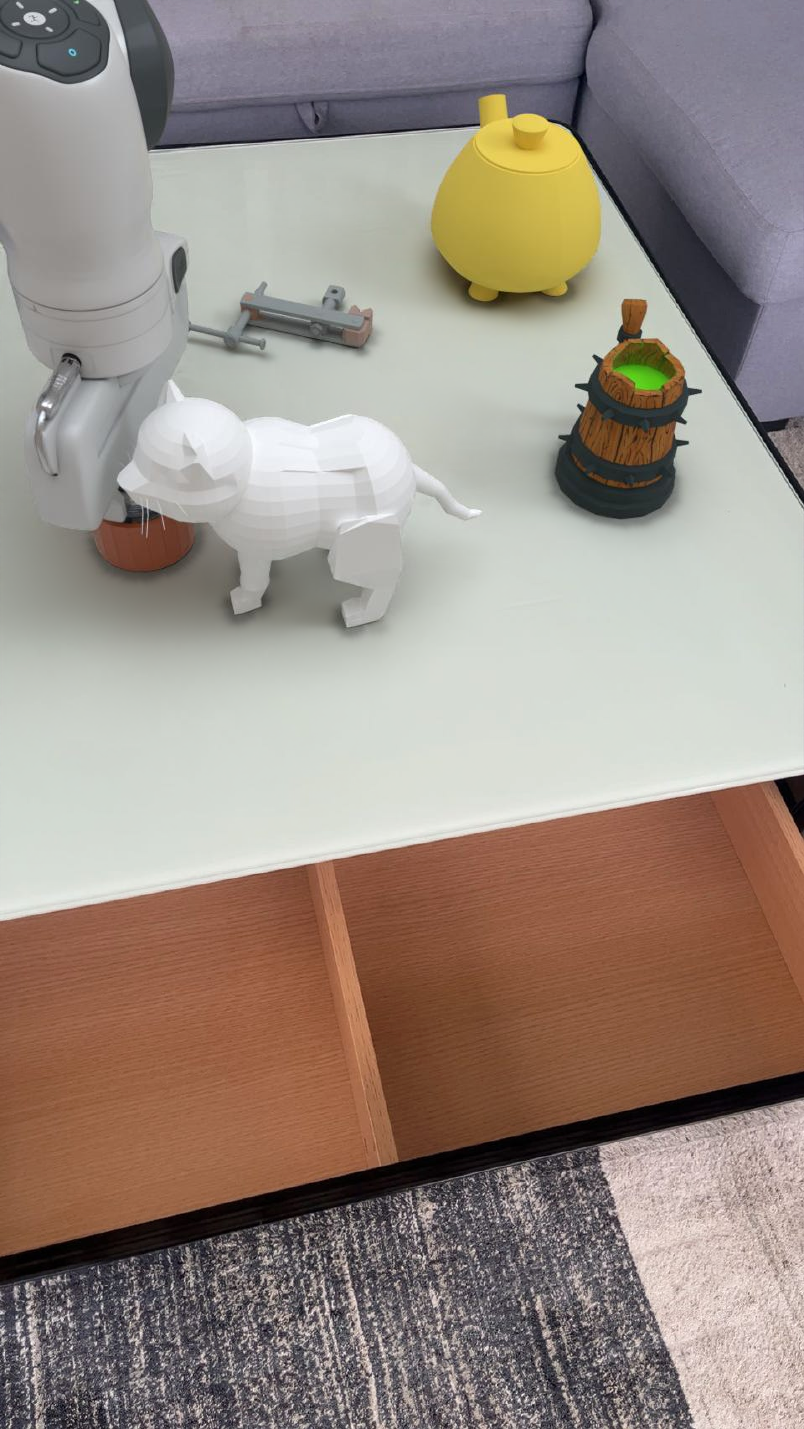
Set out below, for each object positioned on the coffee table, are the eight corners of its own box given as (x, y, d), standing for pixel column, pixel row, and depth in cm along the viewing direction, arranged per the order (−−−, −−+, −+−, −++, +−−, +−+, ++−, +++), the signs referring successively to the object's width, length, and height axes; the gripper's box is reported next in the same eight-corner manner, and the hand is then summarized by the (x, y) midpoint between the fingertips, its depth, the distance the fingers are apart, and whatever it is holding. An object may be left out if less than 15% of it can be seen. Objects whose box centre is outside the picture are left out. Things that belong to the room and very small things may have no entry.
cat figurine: (453, 503, 83) (475, 316, 69) (496, 603, 77) (529, 421, 64) (130, 557, 78) (84, 368, 64) (150, 667, 73) (105, 487, 59)
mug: (685, 524, 83) (730, 404, 73) (555, 518, 82) (583, 397, 73) (663, 413, 90) (702, 292, 81) (544, 408, 90) (568, 285, 80)
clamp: (382, 289, 94) (349, 356, 89) (381, 310, 96) (349, 378, 91) (222, 256, 96) (180, 320, 91) (225, 278, 98) (184, 342, 92)
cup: (80, 562, 78) (67, 518, 74) (114, 492, 82) (103, 447, 78) (178, 579, 77) (170, 535, 73) (207, 508, 81) (201, 463, 78)
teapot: (404, 202, 107) (412, 55, 95) (553, 194, 109) (578, 49, 97) (447, 325, 96) (461, 175, 84) (611, 312, 98) (647, 164, 87)
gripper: (86, 431, 58) (127, 598, 69) (195, 225, 69) (215, 397, 80) (-25, 413, 58) (34, 581, 69) (102, 210, 69) (135, 383, 81)
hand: (132, 480), depth 75 cm, fingers closed on pill bottle, 5 cm apart
